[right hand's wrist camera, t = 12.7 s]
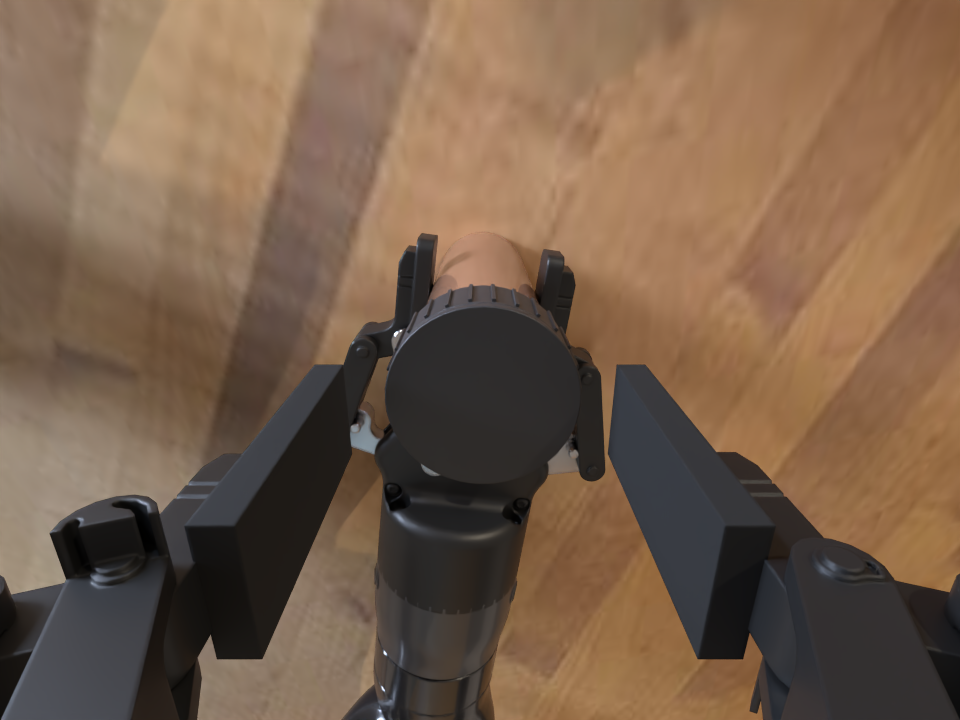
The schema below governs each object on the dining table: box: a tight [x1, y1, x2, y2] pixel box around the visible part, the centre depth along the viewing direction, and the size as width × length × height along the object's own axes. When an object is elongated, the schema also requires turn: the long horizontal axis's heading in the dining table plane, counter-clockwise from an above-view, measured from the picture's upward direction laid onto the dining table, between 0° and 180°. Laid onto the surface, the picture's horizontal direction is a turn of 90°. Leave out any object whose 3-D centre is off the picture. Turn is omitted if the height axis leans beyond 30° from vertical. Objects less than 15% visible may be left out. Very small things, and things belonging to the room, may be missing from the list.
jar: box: [426, 232, 539, 305], centre depth 22 cm, size 5×5×16 cm
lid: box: [385, 284, 582, 484], centre depth 15 cm, size 6×6×2 cm
